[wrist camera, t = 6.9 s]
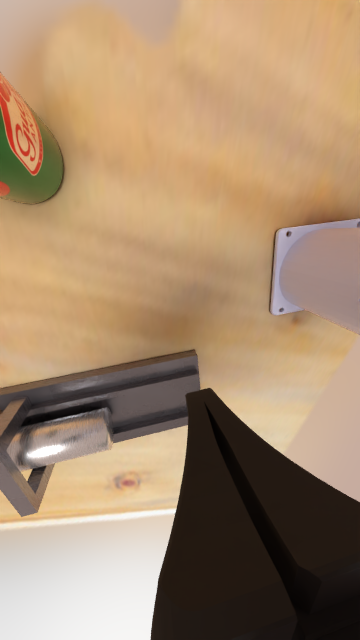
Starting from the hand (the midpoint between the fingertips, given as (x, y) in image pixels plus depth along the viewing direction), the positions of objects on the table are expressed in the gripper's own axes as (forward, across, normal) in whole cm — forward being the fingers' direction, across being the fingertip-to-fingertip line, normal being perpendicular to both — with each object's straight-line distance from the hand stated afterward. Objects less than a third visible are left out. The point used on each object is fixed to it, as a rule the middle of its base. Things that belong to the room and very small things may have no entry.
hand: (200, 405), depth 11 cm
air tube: (+9, +14, +7) cm, 18 cm away
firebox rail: (+10, +11, +7) cm, 16 cm away
